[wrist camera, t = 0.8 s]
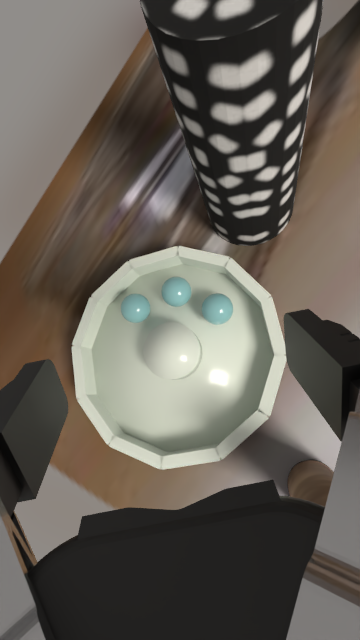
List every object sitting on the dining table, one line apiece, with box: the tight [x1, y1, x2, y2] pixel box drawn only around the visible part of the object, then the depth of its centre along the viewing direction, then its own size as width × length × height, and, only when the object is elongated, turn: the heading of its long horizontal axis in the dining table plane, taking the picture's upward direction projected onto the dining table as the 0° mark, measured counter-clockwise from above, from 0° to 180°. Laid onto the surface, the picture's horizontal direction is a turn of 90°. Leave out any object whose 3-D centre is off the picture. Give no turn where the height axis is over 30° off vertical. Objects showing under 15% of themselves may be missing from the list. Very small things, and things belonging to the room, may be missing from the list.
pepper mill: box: [288, 460, 334, 507], centre depth 20 cm, size 4×4×13 cm
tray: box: [71, 246, 287, 470], centre depth 30 cm, size 19×19×4 cm
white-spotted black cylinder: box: [140, 0, 324, 246], centre depth 24 cm, size 8×8×20 cm
